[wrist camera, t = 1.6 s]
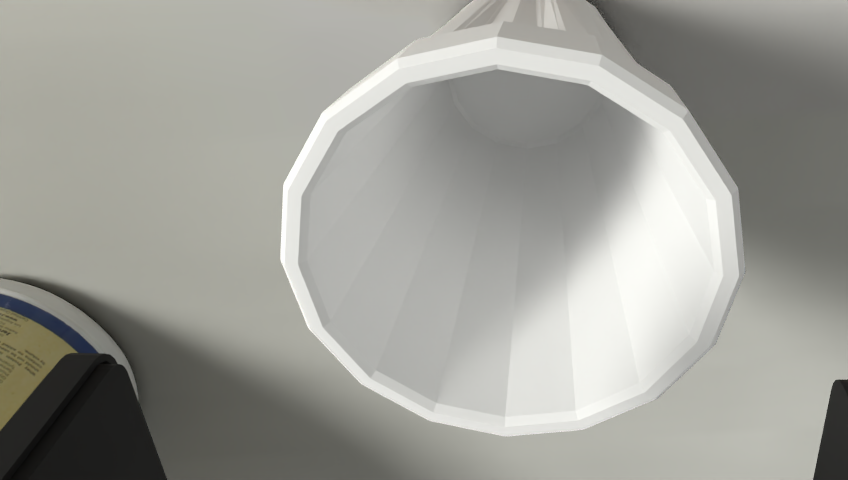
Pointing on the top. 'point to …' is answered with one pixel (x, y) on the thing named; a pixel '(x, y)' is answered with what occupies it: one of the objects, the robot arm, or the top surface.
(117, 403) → the robot arm
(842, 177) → the top surface
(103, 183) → the top surface
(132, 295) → the top surface
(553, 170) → the cup
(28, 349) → the supplement tub
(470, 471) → the top surface
